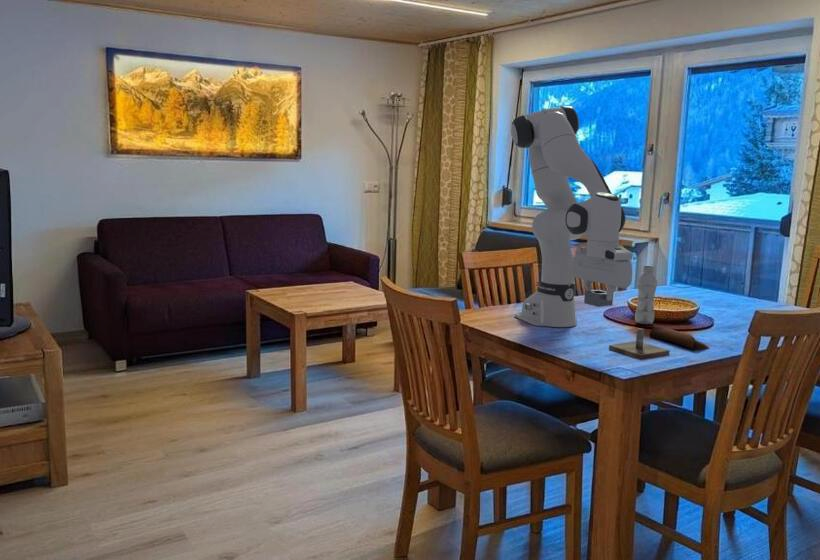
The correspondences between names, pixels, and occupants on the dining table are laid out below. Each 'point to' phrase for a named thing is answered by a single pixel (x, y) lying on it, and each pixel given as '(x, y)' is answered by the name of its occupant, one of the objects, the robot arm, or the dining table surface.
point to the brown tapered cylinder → (678, 338)
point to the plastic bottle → (646, 296)
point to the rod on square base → (639, 348)
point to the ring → (597, 298)
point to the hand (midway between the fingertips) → (598, 297)
